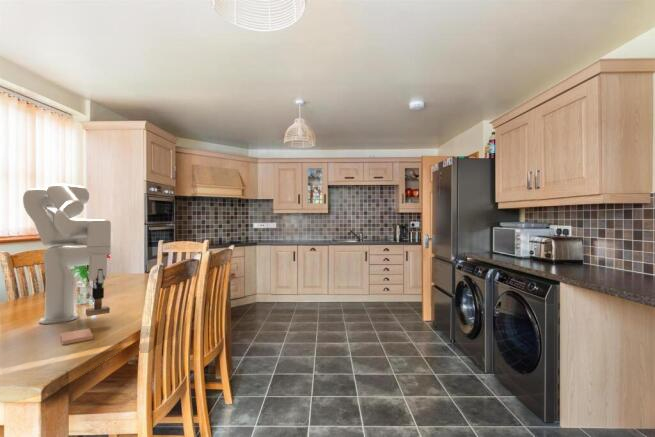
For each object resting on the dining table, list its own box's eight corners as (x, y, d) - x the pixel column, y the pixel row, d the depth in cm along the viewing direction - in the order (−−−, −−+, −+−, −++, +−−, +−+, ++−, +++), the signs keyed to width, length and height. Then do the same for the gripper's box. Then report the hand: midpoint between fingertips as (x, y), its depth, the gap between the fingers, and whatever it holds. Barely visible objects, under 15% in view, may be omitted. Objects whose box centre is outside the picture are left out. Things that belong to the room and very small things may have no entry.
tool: (85, 314, 121) (86, 277, 122) (107, 310, 126) (108, 276, 126) (87, 316, 118) (87, 279, 119) (109, 312, 123) (110, 277, 123)
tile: (60, 333, 110) (62, 340, 103) (89, 328, 115) (92, 335, 108) (60, 337, 110) (62, 345, 103) (89, 332, 115) (92, 339, 108)
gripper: (84, 250, 126) (83, 296, 126) (89, 252, 114) (88, 303, 114) (107, 249, 131) (106, 293, 131) (114, 251, 119) (113, 300, 119)
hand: (97, 297), depth 122 cm, fingers closed on tool, 2 cm apart
